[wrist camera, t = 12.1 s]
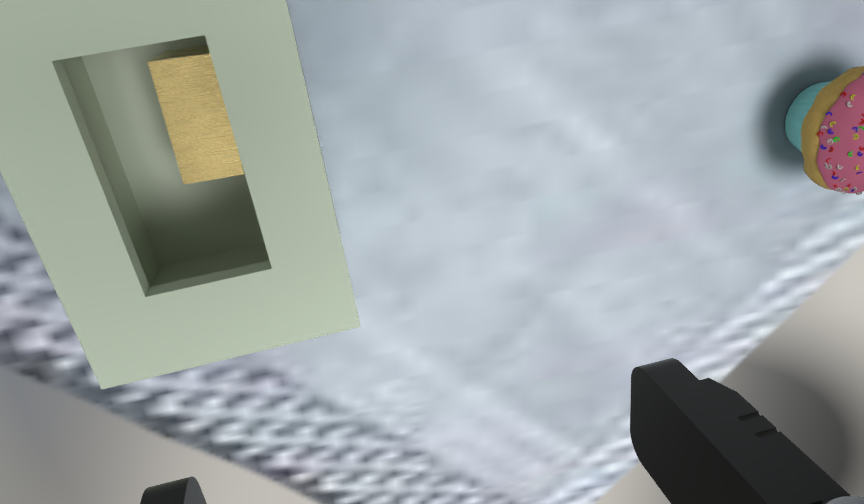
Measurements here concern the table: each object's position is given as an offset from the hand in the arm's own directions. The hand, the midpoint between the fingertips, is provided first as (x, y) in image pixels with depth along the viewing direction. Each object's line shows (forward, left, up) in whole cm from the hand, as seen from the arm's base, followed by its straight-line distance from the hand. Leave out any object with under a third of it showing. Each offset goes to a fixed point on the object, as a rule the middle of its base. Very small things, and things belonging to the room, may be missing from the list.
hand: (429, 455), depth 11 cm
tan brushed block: (-5, -6, -26) cm, 27 cm away
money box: (-2, -7, -29) cm, 30 cm away
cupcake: (+6, +34, -30) cm, 46 cm away
